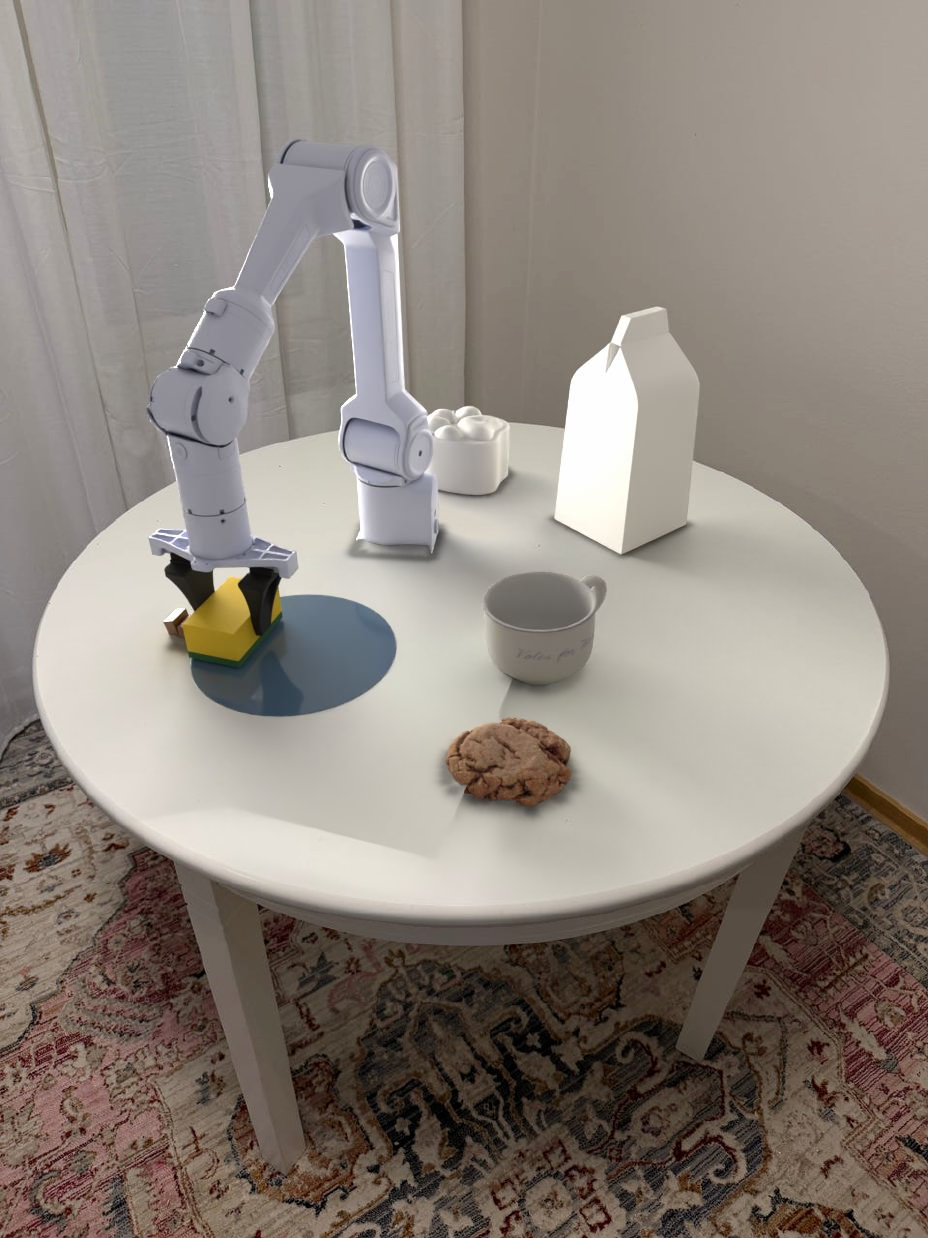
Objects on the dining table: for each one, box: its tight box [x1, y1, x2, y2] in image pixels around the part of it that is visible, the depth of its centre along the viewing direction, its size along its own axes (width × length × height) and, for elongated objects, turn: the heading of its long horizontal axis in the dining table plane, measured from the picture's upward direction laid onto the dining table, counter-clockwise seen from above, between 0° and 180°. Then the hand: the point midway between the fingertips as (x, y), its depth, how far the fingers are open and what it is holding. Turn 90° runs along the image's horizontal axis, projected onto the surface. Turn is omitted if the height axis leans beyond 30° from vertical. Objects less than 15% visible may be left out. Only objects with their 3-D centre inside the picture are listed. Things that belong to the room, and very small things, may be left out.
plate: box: [189, 593, 397, 718], centre depth 87 cm, size 20×20×1 cm
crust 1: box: [162, 607, 190, 638], centre depth 89 cm, size 3×2×1 cm
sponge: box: [182, 576, 283, 668], centre depth 87 cm, size 6×9×4 cm, turn 163°
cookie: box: [445, 716, 572, 807], centre depth 74 cm, size 10×11×3 cm
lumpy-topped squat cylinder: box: [425, 405, 511, 496], centre depth 120 cm, size 10×13×9 cm
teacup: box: [481, 571, 608, 685], centre depth 85 cm, size 14×11×8 cm
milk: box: [553, 305, 701, 555], centre depth 104 cm, size 12×12×26 cm
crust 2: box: [177, 612, 193, 638], centre depth 88 cm, size 3×2×1 cm
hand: (235, 624), depth 87 cm, fingers closed on sponge, 5 cm apart
